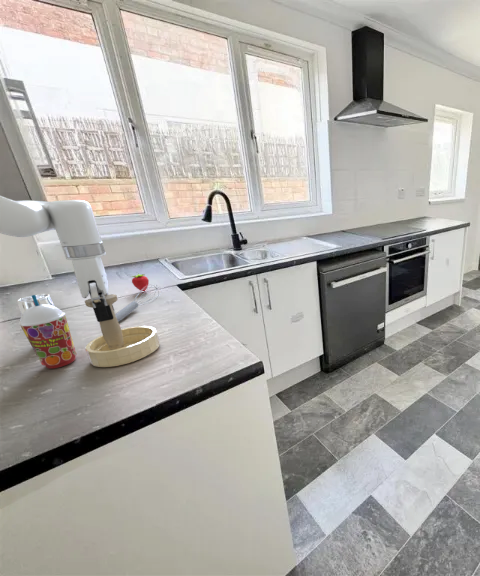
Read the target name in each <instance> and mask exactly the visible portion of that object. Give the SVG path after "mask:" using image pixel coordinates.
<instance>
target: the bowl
mask: <svg viewBox="0 0 480 576" xmlns="http://www.w3.org/2000/svg"><path fill="white" fill-rule="evenodd" d="M121 331H122V335H123V341H122V342H124V347H122V348H120V349H116V350H111V349H109V347H108V345H107V343H106V341H105V339H104V337H103V334H101V335H100V336H98V337H96V338H94V339H93V340H90V341H89V342H88V343H87V344H86V346H85V348H84V349H85V352H86V354H87V357H88V360H89V362H90V364H91V365H92V366H93V367H98V368H111V367H118V366H124V365H127V364H130V363H134V362H136V361H139V360H141V359H144V358H145V357H147V356H149V355H151V354H152V353H154V352H155V351H156V350H158V348H159V347H160V345H161V344H160V339H159V335H158V331H157V329H156V328H155V327H153V326H148V325H137V326H129V327H125V328H121Z"/></svg>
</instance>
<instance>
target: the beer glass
mask: <svg viewBox="0 0 480 576" xmlns="http://www.w3.org/2000/svg"><path fill="white" fill-rule="evenodd" d="M34 295H35V296H36V298H37V301H38V303H39V304H47V305H52V306H55V304H54V302H53V300H52V298H51V296H50V294H48V293H39V294H34ZM16 303H17V305H18V308H19V311H20V314H21V315H22V314H23V313H24V311H26V310H27V309H28V308H30V307H32V306H35V303H34V301H33V298H32V295H28V296H24V297H21V298H18V299H16Z"/></svg>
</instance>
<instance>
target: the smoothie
mask: <svg viewBox="0 0 480 576" xmlns="http://www.w3.org/2000/svg"><path fill="white" fill-rule="evenodd" d="M35 295H36V294H31V296H32V298H33V301H34V303H35V306H32V307H30V308H28V309H27V310H26V311H24V313H23V314H21V316H20V319H19V320H20V321H19V322H18V325H19V326H20V328H21V329H22V332H23V333H24V335H25V337H26V339H27V341H28V342H29V344H30V346H31V347H32V350H33V351H34V353H35V355H36V356H37V359H38V360H39V362H40V364H41V366H44V367H46V369H59V368H62V367H66V366H67V365H70V364H72V363H73V362H74V361H75V360H76V356H77V351H76V348H75V344H74V341H73V340H74V339H73V337H72V333H71V330H70V327H69V324H68V320H67V317H66V312H65V311H62V310H61V309H60V308H58V307H57V306H56V305H54V306H52V305H47V304H39V303H38V301H37V298H36V296H35Z"/></svg>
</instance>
